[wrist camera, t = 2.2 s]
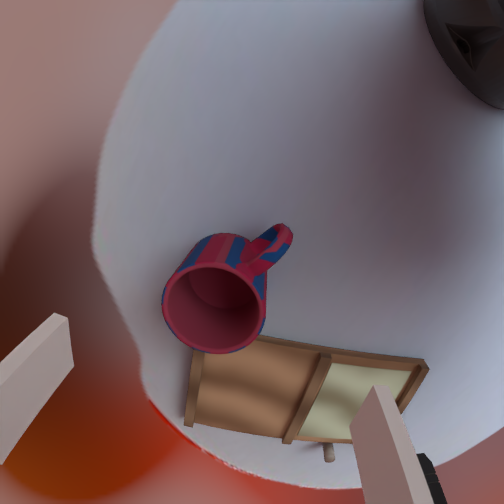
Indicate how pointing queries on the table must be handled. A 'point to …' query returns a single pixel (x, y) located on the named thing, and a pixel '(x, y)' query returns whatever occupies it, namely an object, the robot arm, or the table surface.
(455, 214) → the table surface
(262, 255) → the mug
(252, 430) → the brown divided flat frame
